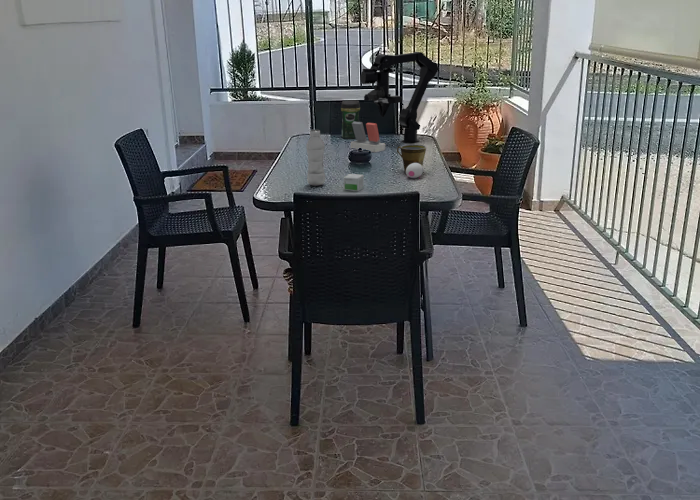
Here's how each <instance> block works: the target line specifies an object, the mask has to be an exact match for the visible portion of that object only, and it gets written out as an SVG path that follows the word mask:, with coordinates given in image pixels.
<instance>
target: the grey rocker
mask: <svg viewBox="0 0 700 500" xmlns="http://www.w3.org/2000/svg"><path fill="white" fill-rule="evenodd" d="M352 126H353V130H354V134H355V137H356V138H355V141H363V142H366V141H368V138H367V136H366V131H365V127H364V124H363V122H362V121H359V122H355V121H354V122H353V123H352Z"/></svg>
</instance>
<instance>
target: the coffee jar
mask: <svg viewBox="0 0 700 500" xmlns="http://www.w3.org/2000/svg"><path fill="white" fill-rule="evenodd" d="M340 111H341V114H342V117H341V118H342V124H341V138H342V139H347V140H348V139H349V140H353V139H355V140H356V137H355V134H354V130H353V126H352V123H353V122H354V121H355V122H360V112H361V105H360V100H354V99H353V100H352V99H351V100H342V102H341V106H340Z"/></svg>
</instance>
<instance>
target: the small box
mask: <svg viewBox="0 0 700 500" xmlns="http://www.w3.org/2000/svg"><path fill="white" fill-rule="evenodd" d="M364 177H365V175H364V174H355V173H349V174H346V175H345V176H344V177H343V190H344V191H352V192H360V191H361V190H362V189H364V188H365V186H364V185H365V184H364V183H365V181H364Z"/></svg>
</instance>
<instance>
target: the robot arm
mask: <svg viewBox="0 0 700 500" xmlns="http://www.w3.org/2000/svg"><path fill="white" fill-rule="evenodd" d="M410 62H415V63H416V64H417V66H418V67H419V68H420V69H419V79H418V81H417V84H416V85H415V86H416V87H415V88H414V91H413V92H412V96H411V98H410V100H409V103H408V105H407V106H406V108H403V107H402V108H401V111H400V113H399V114H398V121H399V123H400V125H401V128H402V129H403V140H401V143H409V144H414V143H417V142H418V143H419V142H420V139H418V131H419V130H420V129H421V124H419V122H418V121H417V119H418V109H419V106H420V104H421V102H422V99H423V97H424V95H425V92H426V90H427V88H428V85H429V83H430V81H432V80H433V79H434V78H435V77H436V75H437V74H438V72H439V65H438V63H437V62H435V61H433V60H432V59H430V58H429V57H428V56H426V55H425V54H424V53H423V52H422V51H414V52H407V53H402V54H401V53H400V54H395V55H392V54H382V53H381V54H377V55H376V56H375V59H374V62H372V65H371V66H370V68H362V71H361V73H360V76H359V78H360V79H359V80H360V83H361V84H362V85H369V84H371V85H373V84H375V85H374V88H373V89H372V90H370V91H369V92H368V93H365V94H364V96H363V101H366V102H368V101H372V102H373V104H375V105H376V107H377V109H378V111H379V115H380V117H381V118H384V117H385V115H386V113H387V111H388V109H389V107H390V106H391V104H398V103H403V98H402V96H401V95H391V93H390V88H391V86H392V85H391V84H390V80H389V79H390V73H394V70H393V69H391V67H393V66H395V65H398V64H404V63H410Z"/></svg>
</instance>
